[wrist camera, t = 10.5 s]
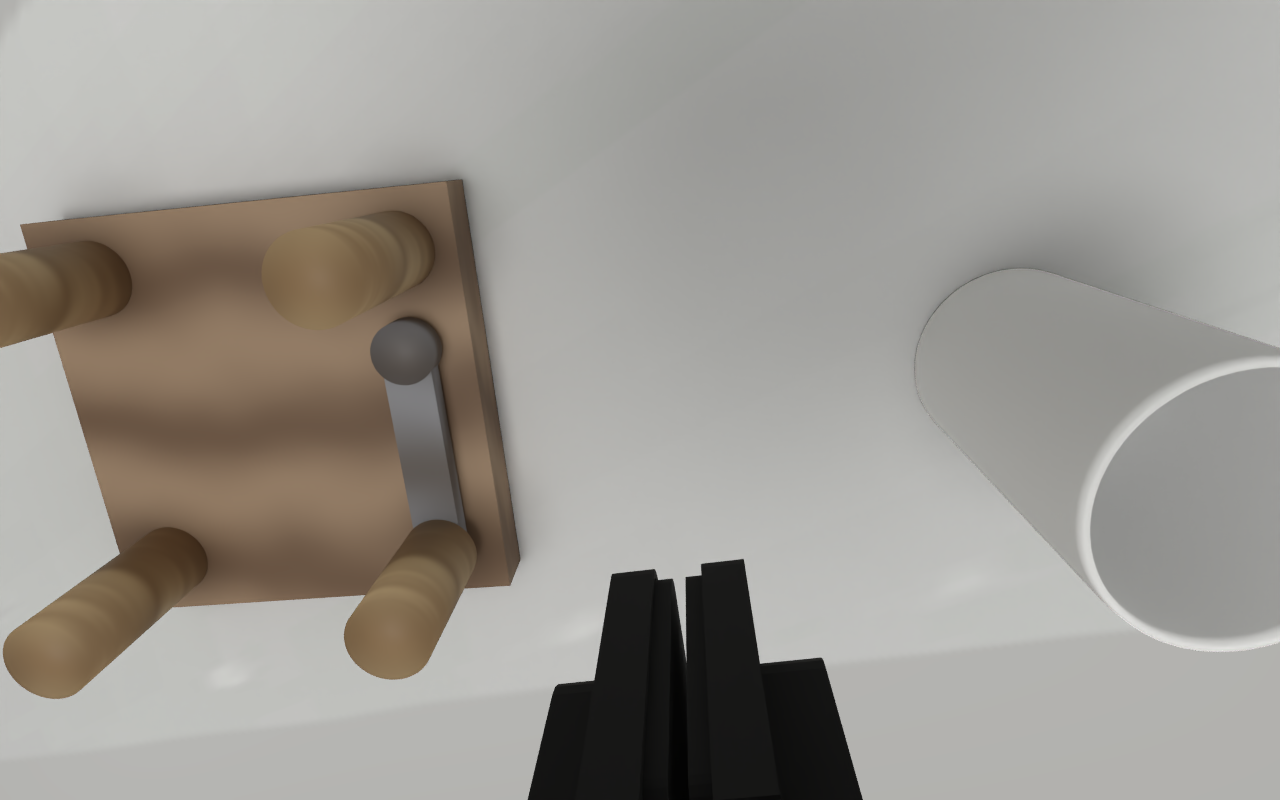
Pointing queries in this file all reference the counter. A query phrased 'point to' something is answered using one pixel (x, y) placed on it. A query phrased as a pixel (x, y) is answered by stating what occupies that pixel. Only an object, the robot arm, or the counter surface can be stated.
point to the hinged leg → (415, 514)
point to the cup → (1122, 446)
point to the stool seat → (250, 402)
